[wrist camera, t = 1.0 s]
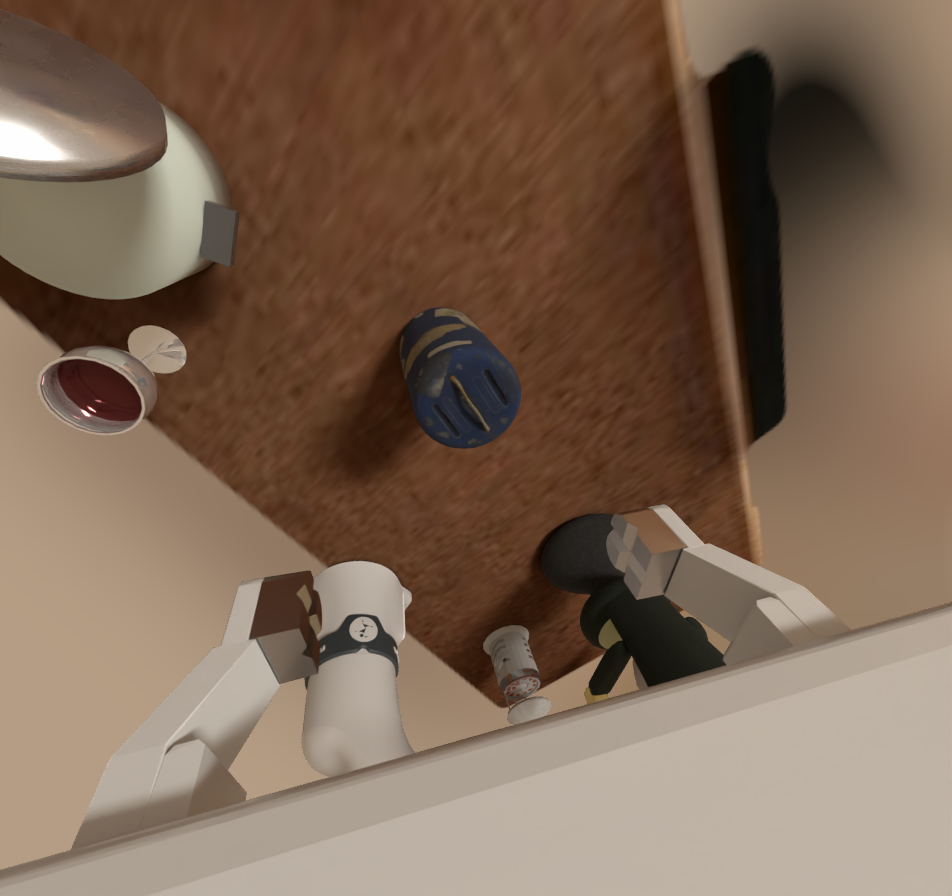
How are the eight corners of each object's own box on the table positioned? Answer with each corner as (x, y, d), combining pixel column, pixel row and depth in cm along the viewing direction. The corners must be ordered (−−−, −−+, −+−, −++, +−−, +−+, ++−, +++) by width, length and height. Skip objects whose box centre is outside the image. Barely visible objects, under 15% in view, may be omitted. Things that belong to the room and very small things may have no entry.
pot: (247, 305, 41) (218, 332, 33) (9, 234, 34) (-104, 245, 26) (267, 147, 35) (239, 131, 27) (-14, 24, 29) (-167, -48, 20)
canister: (414, 394, 50) (437, 476, 35) (384, 321, 45) (395, 381, 30) (486, 367, 51) (539, 437, 36) (464, 291, 45) (515, 336, 31)
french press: (534, 623, 81) (594, 768, 61) (520, 658, 87) (570, 802, 66) (488, 627, 78) (534, 780, 58) (476, 663, 84) (514, 816, 63)
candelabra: (533, 594, 76) (698, 970, 39) (523, 506, 64) (747, 930, 27) (625, 565, 79) (865, 895, 41) (632, 474, 66) (979, 827, 29)
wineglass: (212, 358, 43) (167, 406, 33) (162, 393, 43) (103, 450, 33) (152, 302, 39) (81, 337, 29) (99, 341, 40) (11, 388, 30)
